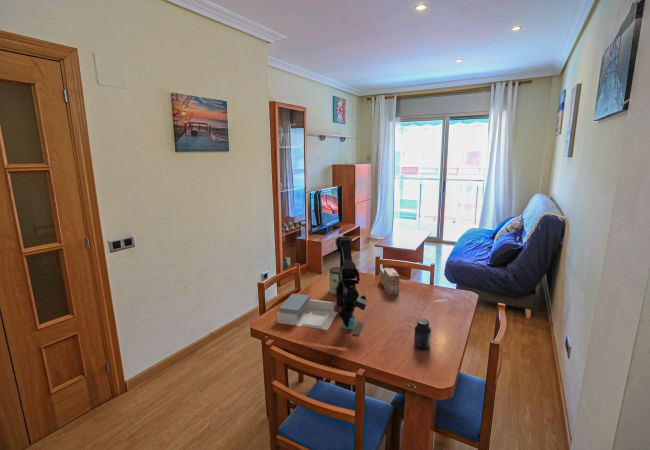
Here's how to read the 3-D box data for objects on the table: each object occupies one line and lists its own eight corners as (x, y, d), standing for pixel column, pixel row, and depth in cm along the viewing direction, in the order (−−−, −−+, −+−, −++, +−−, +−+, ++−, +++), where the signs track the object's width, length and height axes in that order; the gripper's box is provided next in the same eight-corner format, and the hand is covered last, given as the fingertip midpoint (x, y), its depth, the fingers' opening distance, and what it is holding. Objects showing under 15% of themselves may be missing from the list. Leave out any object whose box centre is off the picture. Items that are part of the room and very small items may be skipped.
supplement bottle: (433, 349, 144) (434, 324, 141) (418, 351, 142) (419, 326, 140) (425, 341, 150) (426, 316, 148) (411, 343, 149) (412, 318, 146)
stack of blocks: (379, 281, 220) (379, 263, 217) (388, 281, 220) (389, 263, 218) (388, 295, 199) (389, 275, 196) (399, 294, 200) (399, 275, 197)
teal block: (355, 325, 164) (355, 315, 163) (352, 330, 159) (353, 320, 158) (345, 323, 165) (345, 314, 164) (342, 328, 161) (342, 319, 160)
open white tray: (337, 313, 177) (337, 302, 176) (327, 331, 159) (327, 319, 158) (291, 307, 184) (291, 297, 183) (277, 324, 166) (277, 312, 165)
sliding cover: (309, 298, 180) (309, 295, 179) (298, 314, 163) (298, 310, 163) (292, 296, 182) (292, 293, 182) (279, 311, 166) (279, 307, 165)
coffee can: (345, 288, 210) (345, 266, 207) (346, 294, 200) (346, 272, 197) (329, 288, 210) (329, 266, 207) (329, 294, 200) (329, 272, 197)
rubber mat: (363, 323, 166) (363, 322, 166) (359, 336, 155) (359, 335, 155) (340, 320, 170) (340, 319, 170) (333, 332, 158) (333, 331, 158)
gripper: (362, 302, 147) (362, 334, 151) (369, 286, 165) (368, 315, 168) (338, 299, 151) (338, 331, 154) (347, 284, 168) (347, 312, 171)
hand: (349, 322), depth 162 cm, fingers open, 9 cm apart
